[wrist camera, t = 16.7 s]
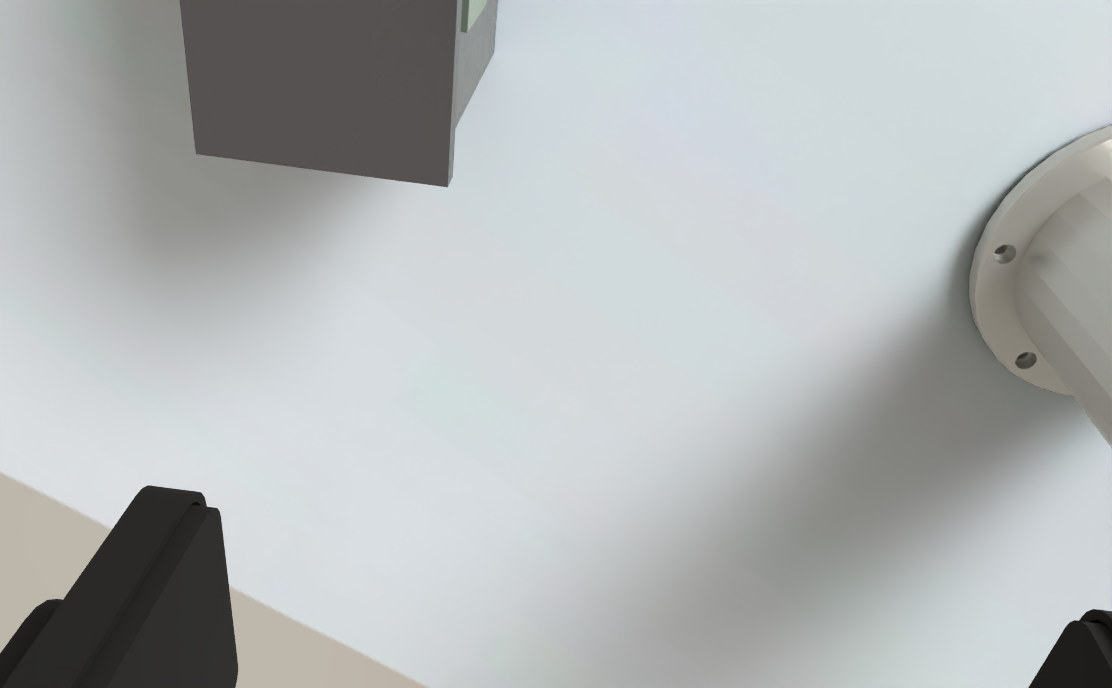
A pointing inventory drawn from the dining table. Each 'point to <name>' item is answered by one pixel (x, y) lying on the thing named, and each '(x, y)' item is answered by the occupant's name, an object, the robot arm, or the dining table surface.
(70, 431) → the dining table surface
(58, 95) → the dining table surface
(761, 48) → the dining table surface
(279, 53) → the charcoal unit
